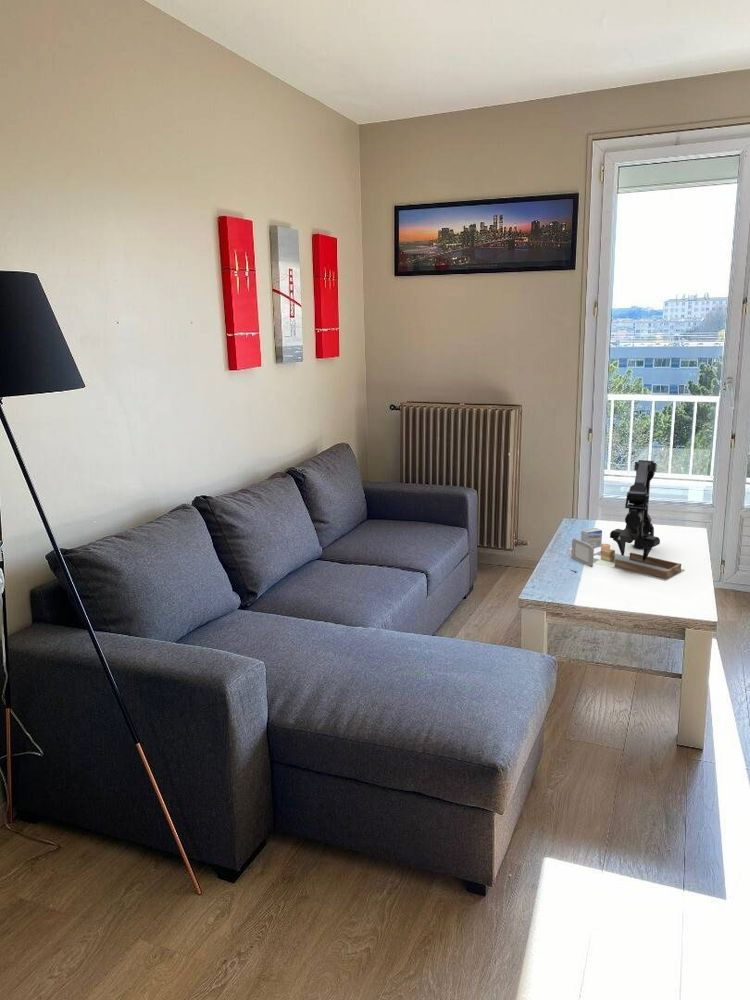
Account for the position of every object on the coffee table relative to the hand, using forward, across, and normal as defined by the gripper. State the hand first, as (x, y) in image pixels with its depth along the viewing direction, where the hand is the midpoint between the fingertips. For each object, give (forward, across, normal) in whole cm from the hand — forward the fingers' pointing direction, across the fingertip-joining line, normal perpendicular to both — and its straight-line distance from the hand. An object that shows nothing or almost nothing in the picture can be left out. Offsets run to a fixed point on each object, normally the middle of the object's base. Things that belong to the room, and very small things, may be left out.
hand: (633, 558), depth 302 cm
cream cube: (+5, -24, -4) cm, 25 cm away
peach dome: (+3, -16, +6) cm, 17 cm away
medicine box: (+5, -26, +11) cm, 28 cm away
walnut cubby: (+3, +6, 0) cm, 7 cm away
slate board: (+4, -1, +1) cm, 5 cm away
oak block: (+3, -11, 0) cm, 12 cm away
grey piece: (+5, -18, -13) cm, 23 cm away
